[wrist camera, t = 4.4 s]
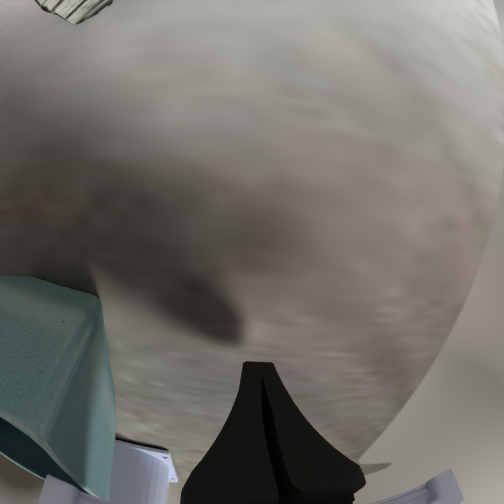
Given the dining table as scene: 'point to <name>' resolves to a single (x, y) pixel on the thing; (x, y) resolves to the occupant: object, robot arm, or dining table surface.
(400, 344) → the dining table surface
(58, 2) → the mat
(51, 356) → the flower pot
